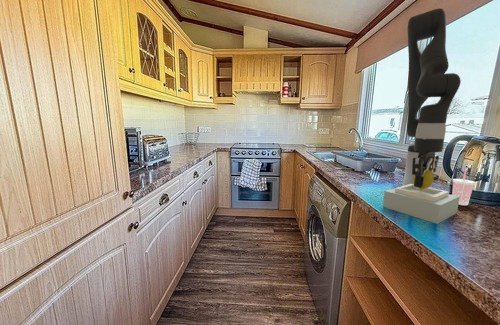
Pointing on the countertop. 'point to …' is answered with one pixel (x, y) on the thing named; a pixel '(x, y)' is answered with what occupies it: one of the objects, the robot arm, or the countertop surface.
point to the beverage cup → (463, 189)
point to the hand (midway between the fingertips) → (422, 185)
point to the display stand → (422, 202)
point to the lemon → (426, 179)
